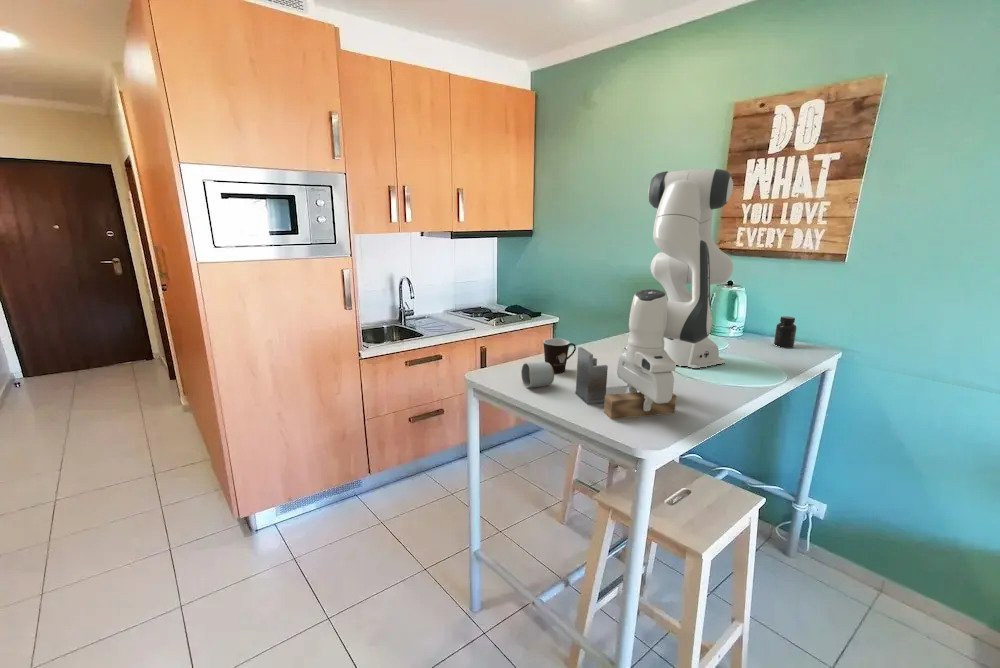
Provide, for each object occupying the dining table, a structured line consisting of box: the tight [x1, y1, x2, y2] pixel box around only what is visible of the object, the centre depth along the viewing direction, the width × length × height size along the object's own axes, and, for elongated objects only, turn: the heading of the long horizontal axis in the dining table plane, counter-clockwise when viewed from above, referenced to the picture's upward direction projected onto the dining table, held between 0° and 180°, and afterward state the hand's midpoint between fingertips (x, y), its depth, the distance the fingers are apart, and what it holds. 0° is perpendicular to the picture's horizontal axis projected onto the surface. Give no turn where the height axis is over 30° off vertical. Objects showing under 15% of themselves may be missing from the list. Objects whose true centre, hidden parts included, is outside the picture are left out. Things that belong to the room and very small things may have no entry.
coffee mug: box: [542, 338, 577, 375], centre depth 143 cm, size 12×9×10 cm
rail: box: [603, 392, 677, 420], centre depth 112 cm, size 18×4×5 cm, turn 102°
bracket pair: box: [574, 346, 639, 405], centre depth 122 cm, size 22×8×14 cm, turn 104°
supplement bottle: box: [773, 316, 797, 348], centre depth 174 cm, size 7×7×12 cm
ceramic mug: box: [520, 361, 555, 389], centre depth 131 cm, size 11×8×8 cm
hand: (639, 405), depth 112 cm, fingers open, 4 cm apart
